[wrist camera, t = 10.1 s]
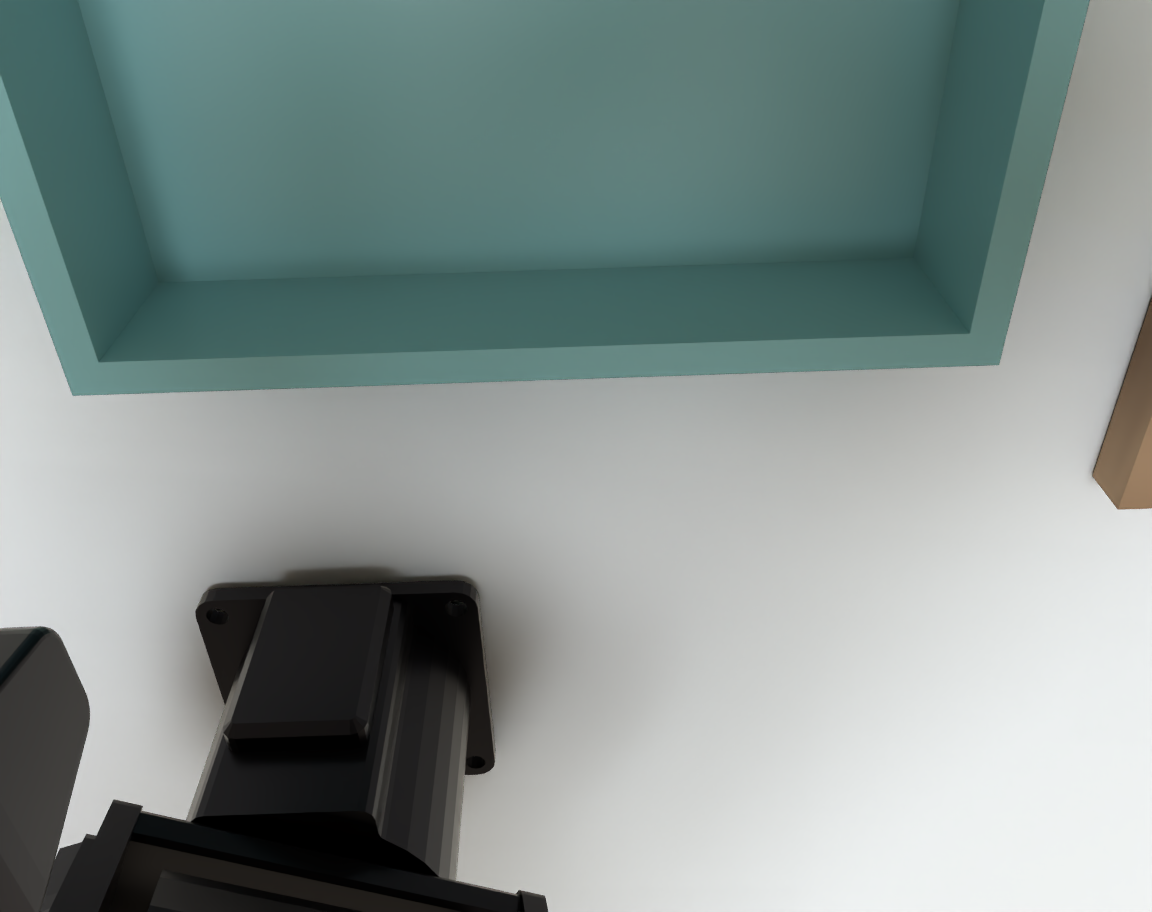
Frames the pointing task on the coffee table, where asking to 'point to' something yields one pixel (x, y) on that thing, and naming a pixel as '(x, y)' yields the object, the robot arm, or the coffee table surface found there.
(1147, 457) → the pallet
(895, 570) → the coffee table surface
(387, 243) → the tote
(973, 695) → the coffee table surface
